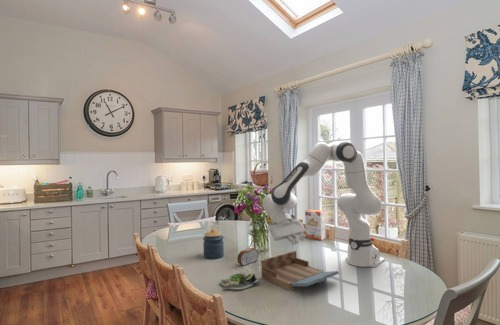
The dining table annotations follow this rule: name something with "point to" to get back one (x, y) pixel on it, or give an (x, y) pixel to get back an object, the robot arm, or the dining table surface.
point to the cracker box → (315, 224)
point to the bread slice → (247, 256)
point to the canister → (213, 245)
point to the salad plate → (239, 281)
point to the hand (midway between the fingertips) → (295, 243)
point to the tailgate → (315, 278)
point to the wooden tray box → (286, 270)
